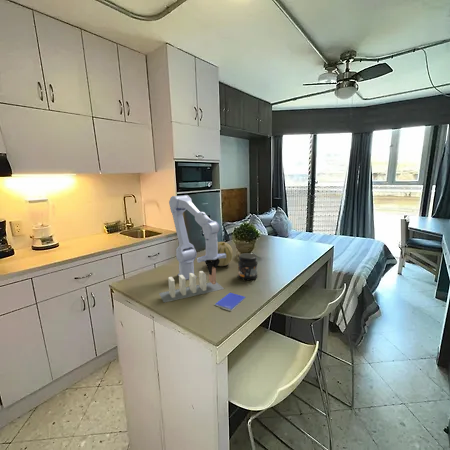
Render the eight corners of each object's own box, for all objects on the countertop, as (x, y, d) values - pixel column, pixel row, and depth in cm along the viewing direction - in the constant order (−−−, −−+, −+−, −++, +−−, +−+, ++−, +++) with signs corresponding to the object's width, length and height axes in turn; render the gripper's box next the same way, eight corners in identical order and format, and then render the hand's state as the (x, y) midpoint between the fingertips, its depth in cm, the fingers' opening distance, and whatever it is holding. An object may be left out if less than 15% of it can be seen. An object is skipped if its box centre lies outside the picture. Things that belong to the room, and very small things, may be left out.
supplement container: (234, 274, 138) (234, 254, 136) (252, 272, 142) (252, 251, 140) (242, 282, 129) (242, 259, 126) (261, 279, 132) (261, 257, 130)
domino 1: (169, 293, 116) (168, 277, 115) (172, 292, 117) (171, 276, 116) (171, 297, 112) (170, 281, 110) (175, 297, 113) (174, 280, 111)
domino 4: (199, 286, 123) (199, 271, 121) (202, 286, 124) (202, 270, 122) (203, 291, 118) (202, 275, 117) (206, 290, 119) (206, 274, 118)
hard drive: (231, 308, 101) (245, 296, 111) (214, 303, 105) (229, 292, 116) (231, 312, 101) (245, 299, 112) (214, 307, 106) (229, 295, 116)
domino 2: (179, 291, 119) (178, 275, 117) (182, 290, 119) (182, 274, 118) (182, 295, 114) (182, 279, 113) (186, 294, 115) (185, 278, 113)
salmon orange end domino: (208, 280, 125) (208, 265, 123) (211, 279, 125) (211, 264, 124) (212, 284, 120) (212, 269, 118) (215, 283, 121) (215, 268, 119)
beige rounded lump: (217, 259, 163) (217, 237, 161) (237, 263, 156) (237, 240, 153) (204, 267, 151) (203, 242, 148) (225, 271, 144) (224, 246, 141)
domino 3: (189, 289, 121) (189, 273, 119) (192, 288, 121) (192, 272, 120) (193, 293, 116) (192, 277, 115) (196, 292, 117) (195, 276, 115)
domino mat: (158, 293, 117) (158, 293, 117) (215, 281, 129) (215, 281, 129) (163, 303, 108) (163, 302, 108) (224, 289, 121) (224, 288, 121)
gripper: (200, 251, 113) (201, 279, 115) (229, 247, 119) (229, 274, 122) (194, 247, 119) (195, 274, 121) (222, 243, 125) (222, 269, 128)
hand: (212, 274), depth 122 cm, fingers closed on salmon orange end domino, 1 cm apart
